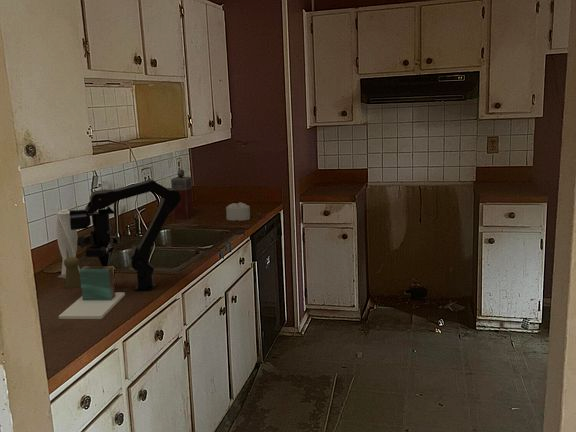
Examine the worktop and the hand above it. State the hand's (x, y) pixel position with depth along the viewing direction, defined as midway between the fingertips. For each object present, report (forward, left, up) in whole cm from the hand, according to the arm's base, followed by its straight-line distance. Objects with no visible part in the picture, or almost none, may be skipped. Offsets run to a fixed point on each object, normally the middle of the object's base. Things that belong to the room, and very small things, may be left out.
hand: (105, 269), depth 204 cm
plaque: (+8, 0, -8) cm, 11 cm away
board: (+13, 0, -9) cm, 16 cm away
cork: (-8, -16, -9) cm, 20 cm away
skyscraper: (-21, -23, -9) cm, 32 cm away
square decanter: (-128, -4, -9) cm, 128 cm away
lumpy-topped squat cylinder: (-124, +30, -9) cm, 128 cm away
